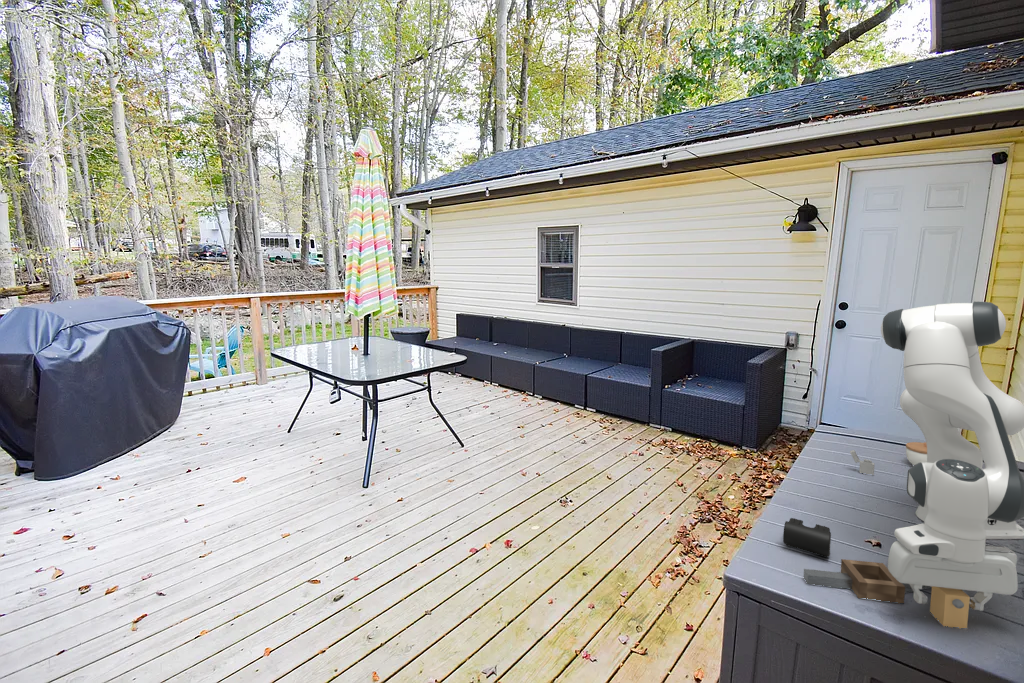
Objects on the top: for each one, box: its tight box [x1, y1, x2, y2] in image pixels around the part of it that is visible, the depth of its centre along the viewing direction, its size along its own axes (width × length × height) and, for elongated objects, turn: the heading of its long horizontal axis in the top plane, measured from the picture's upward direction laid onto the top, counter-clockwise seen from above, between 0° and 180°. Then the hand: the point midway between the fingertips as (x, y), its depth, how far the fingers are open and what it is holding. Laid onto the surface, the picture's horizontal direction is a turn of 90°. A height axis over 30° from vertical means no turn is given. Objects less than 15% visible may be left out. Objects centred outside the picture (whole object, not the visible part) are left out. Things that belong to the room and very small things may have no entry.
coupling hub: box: [840, 558, 906, 604], centre depth 102 cm, size 8×8×4 cm
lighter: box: [849, 449, 875, 476], centre depth 161 cm, size 7×2×8 cm, turn 51°
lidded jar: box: [905, 441, 927, 466], centre depth 164 cm, size 11×11×9 cm
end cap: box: [782, 517, 832, 558], centre depth 117 cm, size 10×7×7 cm
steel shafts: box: [803, 568, 932, 594], centre depth 104 cm, size 26×6×2 cm, turn 76°
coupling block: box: [929, 586, 970, 629], centre depth 91 cm, size 4×5×7 cm
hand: (947, 605), depth 91 cm, fingers open, 8 cm apart
